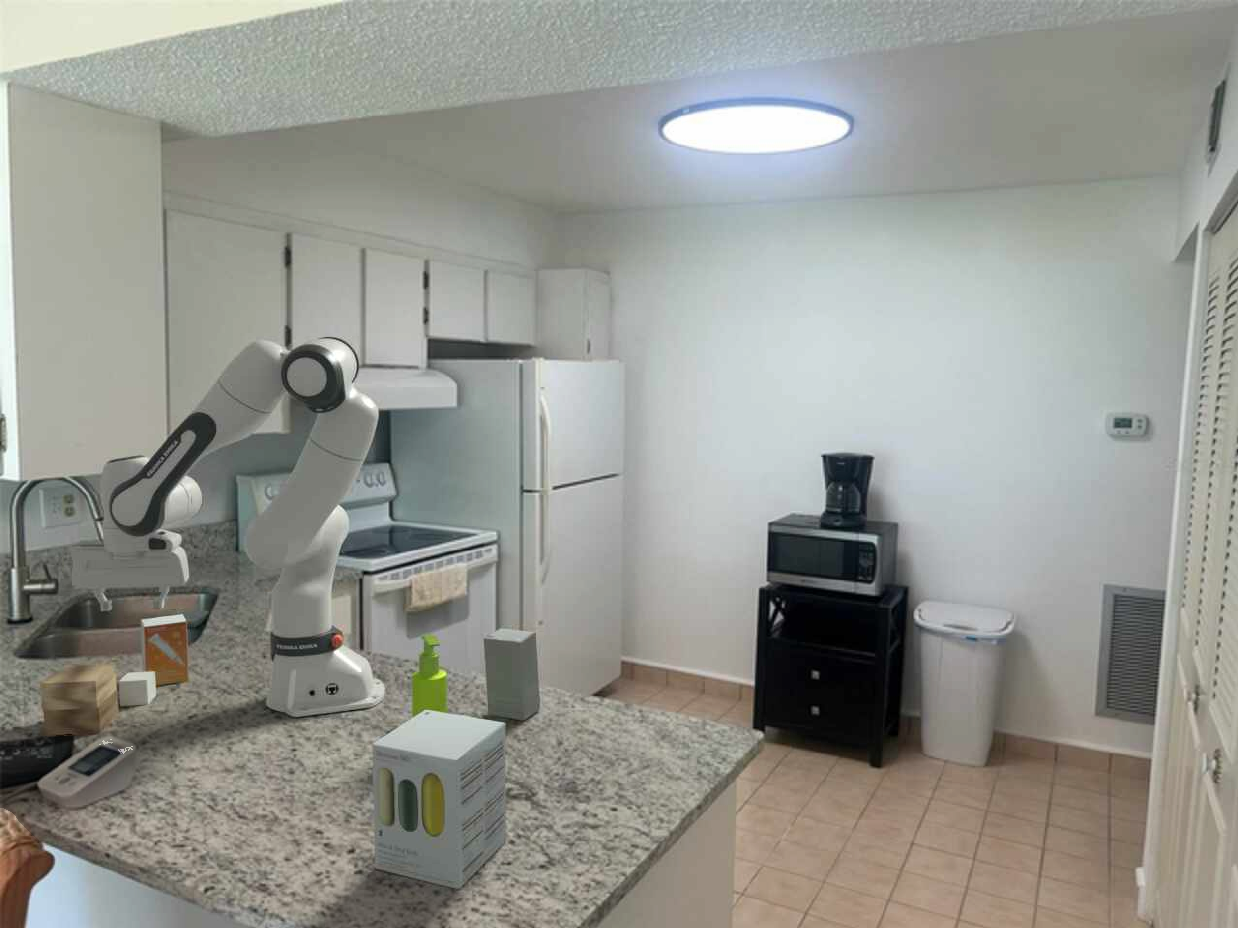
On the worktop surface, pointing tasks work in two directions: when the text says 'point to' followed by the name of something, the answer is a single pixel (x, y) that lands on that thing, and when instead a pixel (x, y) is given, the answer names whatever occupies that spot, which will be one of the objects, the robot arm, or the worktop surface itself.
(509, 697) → the skincare box
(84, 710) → the block
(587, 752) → the worktop surface
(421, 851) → the supplement box
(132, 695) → the cube
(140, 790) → the worktop surface
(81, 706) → the tower top
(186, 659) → the small box
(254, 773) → the worktop surface
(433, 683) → the soap dispenser
